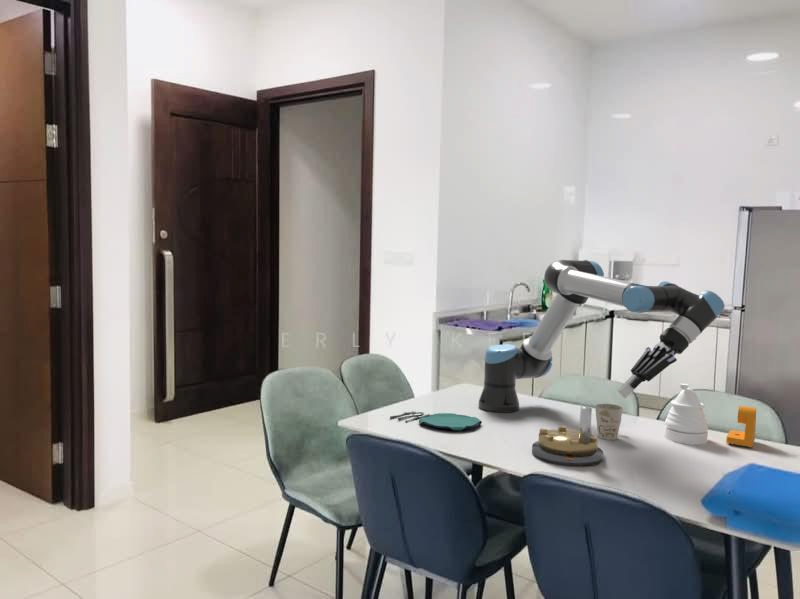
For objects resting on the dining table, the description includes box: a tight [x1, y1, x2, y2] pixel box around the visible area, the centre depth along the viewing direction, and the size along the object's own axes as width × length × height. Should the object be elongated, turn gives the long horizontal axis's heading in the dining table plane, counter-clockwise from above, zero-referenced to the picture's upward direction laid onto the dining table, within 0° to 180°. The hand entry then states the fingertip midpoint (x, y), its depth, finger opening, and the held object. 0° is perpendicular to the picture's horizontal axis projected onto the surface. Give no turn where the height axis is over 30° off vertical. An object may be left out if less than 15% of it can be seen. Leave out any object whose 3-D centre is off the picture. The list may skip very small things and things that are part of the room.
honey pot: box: [663, 383, 709, 445], centre depth 215 cm, size 13×13×18 cm
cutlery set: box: [389, 410, 483, 431], centre depth 227 cm, size 20×30×2 cm, turn 54°
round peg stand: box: [537, 406, 599, 456], centre depth 193 cm, size 17×17×13 cm
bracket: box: [725, 405, 757, 448], centre depth 212 cm, size 11×7×12 cm, turn 147°
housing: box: [531, 440, 604, 468], centre depth 193 cm, size 20×20×2 cm
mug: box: [594, 403, 623, 441], centre depth 216 cm, size 8×13×10 cm, turn 137°
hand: (621, 394), depth 188 cm, fingers closed
